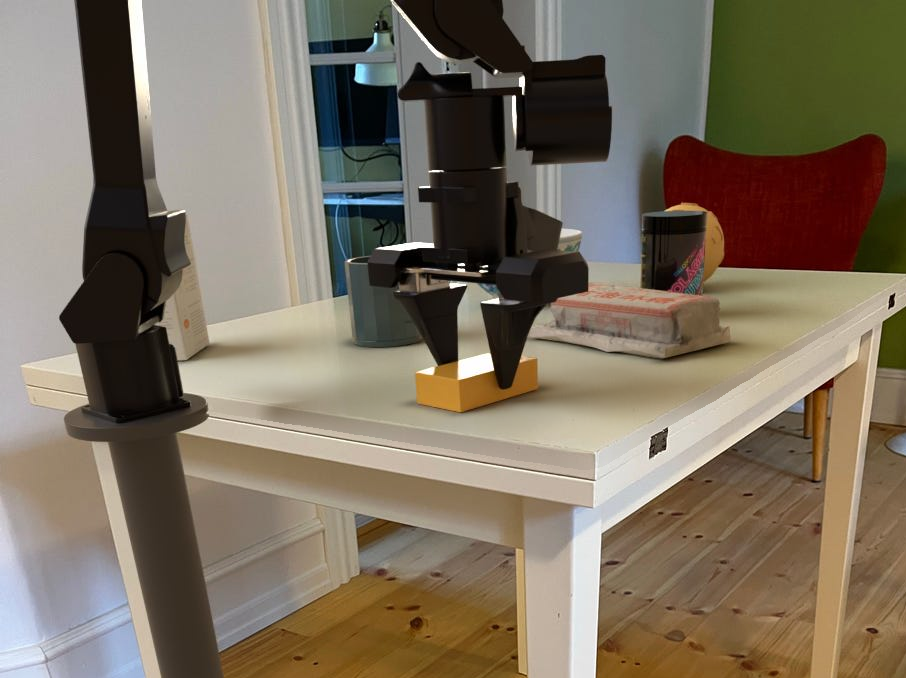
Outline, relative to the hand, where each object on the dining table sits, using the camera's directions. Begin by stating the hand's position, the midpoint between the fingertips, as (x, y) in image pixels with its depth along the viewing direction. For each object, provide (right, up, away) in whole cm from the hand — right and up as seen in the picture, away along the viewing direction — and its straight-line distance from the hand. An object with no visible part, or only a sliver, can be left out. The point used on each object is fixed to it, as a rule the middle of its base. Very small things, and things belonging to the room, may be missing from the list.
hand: (477, 383), depth 80 cm
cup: (-9, +11, +24) cm, 28 cm away
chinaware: (+5, +21, +42) cm, 47 cm away
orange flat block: (0, -1, 0) cm, 1 cm away
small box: (-32, +9, +23) cm, 40 cm away
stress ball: (+26, +23, +45) cm, 57 cm away
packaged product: (+15, +8, +17) cm, 24 cm away
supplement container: (+21, +14, +28) cm, 38 cm away
